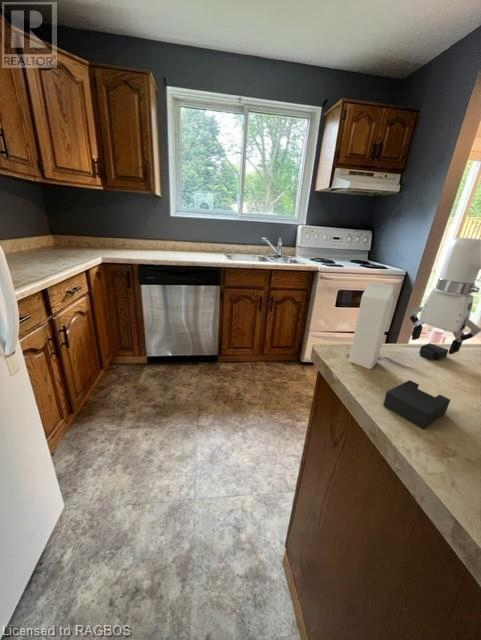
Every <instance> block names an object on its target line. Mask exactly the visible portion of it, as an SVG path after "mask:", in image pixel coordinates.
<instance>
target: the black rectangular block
mask: <svg viewBox="0 0 481 640" xmlns="http://www.w3.org/2000/svg"><path fill="white" fill-rule="evenodd" d="M448 352H449V349H448V348H445V347H442V346H439V345H437V344H433V343H431V342H429V343H427V344H424V345H421V346H420V349H419V351H418V354H419V357H421V358H423V359H426V360H429V361H433V360H435V361H438V362H439V361H441V360H443V359H444V358H447V356H448V354H449V353H448Z"/></svg>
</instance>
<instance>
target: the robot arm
mask: <svg viewBox="0 0 481 640" xmlns="http://www.w3.org/2000/svg"><path fill="white" fill-rule="evenodd" d="M480 270H481V239H480V238H470V237H469V238H468V237H457V238H456V237H455V238H454V239H453V240H451V242H450V244H449V246H448V249H447V252H446V255H445V258H444V261H443V264H442V267H441V271H440V274H439V277H438V278H437V282H436V284H435V285H436V286H435V287H433V288H432V289H431V291H430V292H429V294H428V296H427V298H426V299H425V301H424V304H423V306H420V307H414V308H409V310H408V313H409V319H410V321H411V323H412V326H413V328H412V331H411V340H412V341H415V340H418V339H420V337H421V334H422V331H423V327H424V326H423V325H424V324H425V325H428V326H431V327H434V328H437V329H440V330H443V331H447V332H449V333H452V334H453V336H454V338H455V339H452V342H451V344H450V347H449V349H448V353H447V354H449V355H453V354H456V353H459V351H460V350H461V346H462V344H463V343H464V341H466V340H469V339H472V338H475V336H477V335H478V334H480V333H481V327H479V325H477V324H475V323H474V322H473V321H472V320H471V319H470V316H471V313H472V308H473V305H474V295H472V293H473V294H474V293H475V294H478V293H479V291H480V287H478V286H476V283H475V282H476V280H477V277H478V276H479V272H480ZM417 313H420V314H419V317H418V316H417ZM467 327H468V329H470V332H468V333H466V334H465V333H464V330H465V329H466V328H467Z"/></svg>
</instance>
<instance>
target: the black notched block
mask: <svg viewBox="0 0 481 640" xmlns="http://www.w3.org/2000/svg"><path fill="white" fill-rule="evenodd" d="M419 385H420V384H419V383H417V382H414V381H413V380H411V379H410V380H406V381H405V382H403V383H400V384H399V385H397V386H394V387H393V388H391V389H389V390H387V391H386V393H385V397H384V400H383V404H382V406H383V407H385V408H386V409H388V410H390V411H392V412H393V413H395V414H397V415H398V416H400V417H401V418H403V419H405V420H406V421H408V422H410V423H411V424H413V425H415V426H417V427H418V428H420V429H422V430H425V429H426V428H428V427H429V426H430V425H432V424H433V423H435V422H436V421H437V420H439V419H441V418H442V417H443V416H444V415H446V413H447V410H448V408H449V406H450V403H451V399H450V398H448V397H446V396H444V395H442V394H438V395H436V396H434V395H431V394H429V393H427V392H425V391H423V390H421V389H419Z"/></svg>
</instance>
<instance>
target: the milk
mask: <svg viewBox="0 0 481 640" xmlns="http://www.w3.org/2000/svg"><path fill="white" fill-rule="evenodd" d="M393 291H394V285H393V284H387V283H382V282H381V283H380V282H375V281H367V286H366V288H365V290H364V291H363V293H362V295H361V299H360V304H359V309H358V314H357V319H356V323H355V327H354V332H353V338H352V342H351V347H350V353H349V357H348V362H349V363H351V364H355V365H357V366H360V367H363V368H365V369H369V370H372V368H374V366H376V364H377V363H378V361H379V357H380V352H381V349H382V346H383V341H384V337H385V332H386V329H387V325H388V321H389V317H390V313H391V309H392V305H393V302H394V301H393V300H394V292H393Z"/></svg>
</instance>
